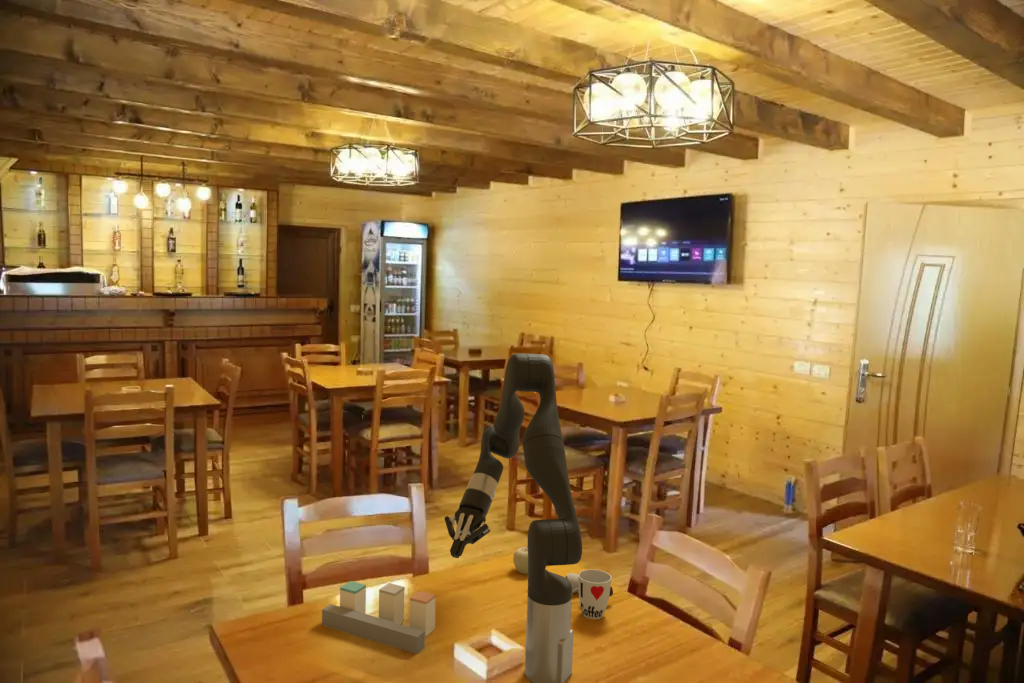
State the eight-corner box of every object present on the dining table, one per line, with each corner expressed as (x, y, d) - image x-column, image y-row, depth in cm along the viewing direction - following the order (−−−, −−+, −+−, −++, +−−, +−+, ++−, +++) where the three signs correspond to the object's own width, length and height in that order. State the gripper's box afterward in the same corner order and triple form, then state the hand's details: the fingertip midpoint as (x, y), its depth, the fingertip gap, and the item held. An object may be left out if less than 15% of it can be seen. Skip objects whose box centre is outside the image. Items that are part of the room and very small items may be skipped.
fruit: (544, 572, 199) (545, 545, 199) (525, 579, 194) (526, 551, 194) (525, 564, 205) (526, 537, 204) (507, 570, 200) (508, 543, 199)
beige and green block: (365, 618, 167) (365, 584, 167) (354, 625, 164) (355, 591, 163) (350, 613, 169) (350, 580, 168) (339, 621, 166) (340, 587, 165)
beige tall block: (403, 620, 167) (404, 586, 166) (394, 627, 163) (394, 593, 163) (388, 615, 169) (389, 582, 168) (378, 623, 165) (379, 589, 164)
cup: (571, 617, 174) (573, 578, 173) (583, 604, 181) (585, 566, 180) (603, 625, 170) (604, 585, 169) (614, 612, 177) (615, 573, 176)
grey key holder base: (454, 626, 167) (454, 606, 167) (417, 659, 153) (417, 637, 152) (364, 602, 178) (364, 583, 178) (322, 630, 164) (322, 609, 163)
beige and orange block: (434, 628, 163) (435, 594, 163) (425, 636, 160) (426, 601, 159) (418, 624, 165) (419, 590, 164) (409, 632, 162) (409, 597, 161)
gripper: (452, 483, 184) (425, 544, 174) (497, 491, 178) (473, 555, 169) (461, 497, 189) (436, 557, 179) (506, 506, 184) (482, 568, 174)
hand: (454, 556), depth 174 cm, fingers closed
